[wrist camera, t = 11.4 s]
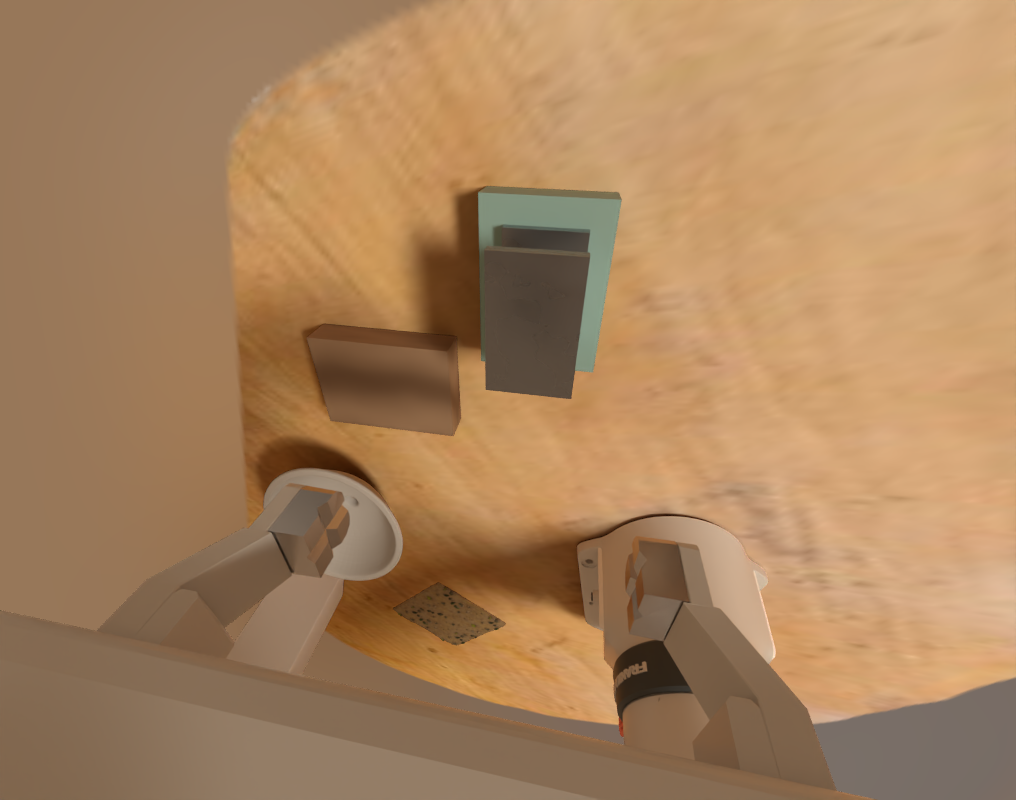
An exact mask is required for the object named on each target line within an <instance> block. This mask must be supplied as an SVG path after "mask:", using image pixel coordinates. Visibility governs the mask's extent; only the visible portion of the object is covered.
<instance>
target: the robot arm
mask: <svg viewBox="0 0 1016 800" xmlns="http://www.w3.org/2000/svg"><path fill="white" fill-rule="evenodd" d="M344 501H345V499H344V496H343V493H342V492H339V491H334V490H328V489H323V488H317V487H312V486H306V485H300V484H294V483H289V484H288V485H286V486H284V487H283V488H282V490H281V491H280V492H279V493H278V494H277V495H276V497H275V498H274V499H273V500H272V501H271V503H270V504H269V505H268V506H267V507H266V508H265V510H264V511H263V512H262V513H261V514H260V516H259V517H258V518H257V519H256V520H255V521H254V523H253V524H252V525H251V526H250V527H249V528H242V529H241V530H239V531H237V532H235V533H233V534H231V535H229V536H227V537H225V538H224V539H222V540H220V541H218V542H216V543H214V544H212V545H210V546H209V547H207V548H205V549H203V550H201V551H199V552H197V553H195V554H194V555H192V556H190V557H188V558H186V559H184V560H182V561H180V562H179V563H177V564H175V565H173V566H171V567H169V568H168V569H166V570H164V571H162V572H160V573H158V574H156V575H154V576H152V577H151V578H149V579H147V580H146V581H145V582H144V583H143V584H142V585H141V586H140V587H139V588H138V589H137V590H136V591H135V592H134V593H133V594H132V595H131V596H130V597H129V598H128V599H127V600H126V601H125V602H124V603H123V604H122V605H121V606H120V607H119V608H118V609H117V610H116V611H115V612H114V614H112V616H111V617H110V618H109V619H108V620H107V621H106V622H105V623H104V624H103V625H102V626H101V627H100V628H99V629H98V630H97V631H95V630H90V629H85V628H81V627H76V626H71V625H67V624H62V623H58V622H52V621H48V620H44V619H39V618H34V617H30V616H25V615H20V614H16V613H11V612H6V611H1V610H0V800H876V799H871V798H867V797H862V796H857V795H853V794H848V793H843V792H839V791H837V790H836V787H835V785H834V782H833V779H832V777H831V774H830V771H829V768H828V765H827V763H826V760H825V757H824V754H823V751H822V749H821V747H820V743H819V741H818V738H817V735H816V732H815V729H814V727H813V724H812V721H811V718H810V716H809V713H808V710H807V708H806V707H805V706H804V705H803V704H802V703H801V701H800V700H799V699H798V698H797V697H796V696H795V694H794V693H793V692H792V691H791V690H790V689H789V687H788V686H787V685H786V684H785V683H784V682H783V680H782V679H781V678H780V677H779V676H778V675H777V673H776V672H775V671H774V670H773V669H772V668H771V666H770V665H769V663H770V662H771V661H772V659H773V658H774V657H775V646H774V642H773V638H772V634H771V631H770V627H769V623H768V619H767V615H766V611H765V608H764V604H763V600H762V597H761V593H760V590H761V589H763V588H764V587H765V586H766V585H767V584H768V578H767V574H766V571H765V570H764V569H763V568H762V567H761V566H759V565H758V564H756V563H755V562H753V561H752V560H750V559H749V558H748V556H747V555H746V553H745V550H744V548H743V546H742V545H741V543H740V542H739V541H738V540H737V539H736V538H735V537H734V536H733V535H732V534H731V533H729V532H728V531H726V530H725V529H723V528H721V527H719V526H717V525H714V524H712V523H709V522H706V521H703V520H699V519H694V518H688V517H678V516H661V517H652V518H646V519H641V520H637V521H634V522H631V523H628V524H626V525H623V526H621V527H619V528H618V529H616V530H614V531H613V532H611V533H609V534H608V535H606V536H604V537H601V538H596V539H592V540H588V541H584V542H582V543H580V544H579V545H578V546H577V556H578V565H579V573H580V581H581V589H582V597H583V605H584V613H585V620H586V622H587V623H588V624H590V625H591V626H593V627H595V628H597V629H599V630H602V631H603V639H604V660H605V661H606V662H607V664H608V665H609V666H610V667H611V668H612V669H613V679H614V698H615V702H616V704H617V711H618V716H619V731H620V735H621V736H622V737H624V745H622V744H617V743H613V742H608V741H603V740H599V739H594V738H589V737H585V736H580V735H575V734H571V733H566V732H562V731H557V730H552V729H548V728H543V727H539V726H534V725H530V724H525V723H520V722H516V721H511V720H506V719H502V718H497V717H493V716H488V715H483V714H479V713H474V712H469V711H465V710H460V709H456V708H451V707H446V706H442V705H437V704H433V703H428V702H423V701H419V700H414V699H409V698H405V697H400V696H395V695H391V694H386V693H382V692H377V691H372V690H368V689H363V688H358V687H354V686H349V685H345V684H340V683H335V682H330V681H326V680H322V679H317V678H312V677H308V676H303V675H298V674H294V673H289V672H285V671H280V670H275V669H271V668H266V667H261V666H257V665H252V664H248V663H243V662H238V661H234V660H229V659H226V657H227V656H228V654H229V653H230V651H231V650H232V648H233V647H234V641H233V639H232V638H231V636H230V635H229V634H228V632H227V631H226V630H225V627H226V626H228V625H229V624H230V623H232V622H233V621H234V620H235V619H237V618H238V617H239V616H240V615H242V614H243V613H244V612H246V611H247V610H248V609H250V608H251V607H252V606H253V605H255V604H256V603H257V602H259V601H260V600H261V599H263V598H264V597H265V596H266V595H268V594H269V593H270V592H272V591H273V590H274V589H275V588H277V587H278V586H279V585H281V584H282V583H283V582H284V581H286V580H287V579H288V578H290V577H291V576H292V574H297V575H304V576H311V577H317V578H321V577H322V575H323V574H324V572H325V570H326V569H327V567H328V565H329V564H330V562H331V560H332V559H333V557H334V556H333V548H335V547H336V546H338V545H340V544H341V543H342V542H343V540H344V538H345V536H346V535H347V532H348V528H349V525H350V515H349V512H348V510H347V509H346V508H345V507H344V506H343V505H342V504H343V502H344Z"/></svg>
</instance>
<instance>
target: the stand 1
mask: <svg viewBox="0 0 1016 800" xmlns="http://www.w3.org/2000/svg"><path fill="white" fill-rule="evenodd" d="M306 338H307V341H308V345H309V348H310V352H311V355H312V358H313V362H314V365H315V369H316V372H317V376H318V379H319V383H320V386H321V389H322V393H323V396H324V400H325V403H326V407H327V410H328V414H329V417H330V420H331V421H336V422H344V423H352V424H360V425H368V426H376V427H384V428H392V429H400V430H408V431H416V432H424V433H432V434H440V435H448V436H454V434H455V431H456V429H457V426H458V424H459V422H460V419H461V409H460V391H459V373H458V356H457V338H456V336H447V335H437V334H426V333H416V332H405V331H395V330H384V329H373V328H363V327H352V326H342V325H331V324H323V325H322V326H320V327H319V328H318V329H317V330H315V331H314V332H313V333H312V334H310V335H309V336H308V337H306Z"/></svg>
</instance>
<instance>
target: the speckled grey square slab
mask: <svg viewBox="0 0 1016 800" xmlns="http://www.w3.org/2000/svg"><path fill="white" fill-rule="evenodd" d="M393 610H395V611H396V612H397V613H398V614H399V615H400V616H403V617H405V618H407V619H409V620H410V621H411V622H414V623H416V624H418V625H420V626H421V627H423V628H425V629H427V630H428V631H430V632H432V633H433V634H435V635H436V636H438V637H439V638H440V639H441V640H442V641H444V640H445V641H447V642H449V643H451V644H453V645H460V644H464V643H465V642H467V641H469V640H471V639H474V638H477V637H478V636H480V635H483V634H485V633H487V632H490V631H493V630H497V629H498V628H500V627H503V626H504V625H505V624H506V623H505V622H503V621H502V620H500V619H499V618H496V617H495V616H493V615H492V614H490V613H488V612H487V611H485V610H484V609H482V608H480V607H479V606H477V605H475V604H474V603H472V602H470V601H469V600H467V599H466V598H464V597H462V596H461V595H459V594H457V593H456V592H454V591H452V590H451V589H449V588H448V587H446V586H444V585H442V584H441V583H439V582H438V583H436V584H434V585H432V586H430V587H429V588H427V589H426V590H423V591H422V592H420V593H419V594H417V595H415V596H414V597H412V598H410V599H408V600H406V601H405V602H403V603H401V604H400V605H398V606H396V607H394V608H393Z"/></svg>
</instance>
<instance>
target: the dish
mask: <svg viewBox="0 0 1016 800" xmlns="http://www.w3.org/2000/svg"><path fill="white" fill-rule="evenodd" d="M289 483H294V484H300V485H306V486H312V487H317V488H323V489H328V490H334V491H339V492H342V493H343V496H344V499H345V501H344V502H343V504H342V505H343V506H344V507H345V508H346V509H347V510H348V512H349V515H350V525H349V528H348V532H347V535H346V536H345V538H344V540H343V542H342V543H341V544H340V545H338V546H336V547H335V548H333V556H334V557H333V559H332V560H331V562H330V564H329V565H328V567H327V569H326V570H325V572H324V574H326V575H329V576H332V577H336V578H340V579H345V580H354V581H363V580H371V579H375V578H378V577H381V576H383V575H385V574H387V573H388V572H390V571H391V570H392V569H393V568H394V567H395V566H396V564H397V563H398V561H399V559H400V557H401V554H402V549H403V538H402V533H401V529H400V527H399V524H398V522H397V520H396V518H395V517H394V515H393V513H392V512H391V510H390V508H389V506H388V505H387V503H386V501H385V500H384V499H383V497H382V496H381V495H380V494H379V493H378V492H377V491H376V490H375V489H374V488H373V487H372V486H371V485H369V484H368V483H367V482H365V481H364V480H362V479H360V478H358V477H356V476H354V475H351V474H349V473H345V472H342V471H337V470H328V469H319V468H299V469H293V470H290V471H287V472H285V473H283V474H281V475H280V476H278V477H277V478H275V479H274V480H273V481H272V482H271V484H270V485H269V487H268V488H267V490H266V493H265V496H264V504H263V506H264V510H265V508H266V507H267V506H268V505H269V504H270V503H271V501H272V500H273V499H274V498H275V497H276V495H277V494H278V493H279V492H280V491H281V490H282V488H283V487H284V486H286V485H288V484H289Z"/></svg>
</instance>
